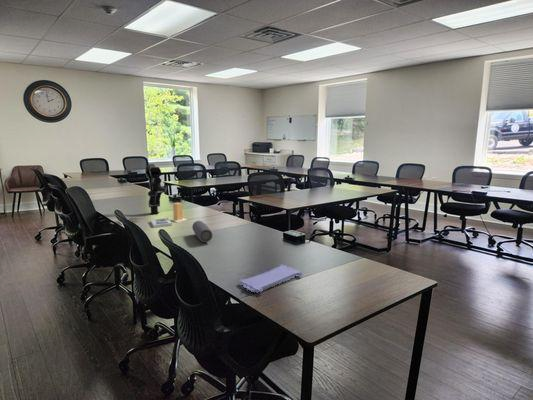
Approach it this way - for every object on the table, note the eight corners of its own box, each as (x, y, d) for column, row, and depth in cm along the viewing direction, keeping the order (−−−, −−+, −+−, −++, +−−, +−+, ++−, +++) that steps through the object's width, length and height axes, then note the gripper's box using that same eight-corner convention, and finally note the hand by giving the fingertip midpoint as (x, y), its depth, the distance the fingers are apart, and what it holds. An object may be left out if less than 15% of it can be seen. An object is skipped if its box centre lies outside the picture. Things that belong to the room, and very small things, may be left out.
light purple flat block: (235, 286, 151) (257, 298, 140) (235, 277, 150) (257, 288, 140) (281, 268, 171) (303, 277, 161) (281, 260, 170) (303, 269, 160)
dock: (150, 221, 258) (150, 218, 257) (167, 220, 263) (167, 217, 263) (153, 227, 242) (153, 224, 241) (172, 225, 247) (171, 222, 247)
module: (173, 219, 262) (173, 203, 260) (179, 218, 266) (178, 202, 264) (177, 220, 259) (176, 204, 257) (182, 219, 263) (182, 203, 261)
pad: (169, 220, 262) (169, 219, 262) (179, 217, 270) (179, 217, 270) (176, 222, 256) (176, 221, 256) (187, 220, 264) (187, 219, 263)
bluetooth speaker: (191, 234, 226) (191, 220, 224) (205, 233, 229) (204, 219, 227) (198, 245, 205) (198, 229, 203) (213, 243, 209) (213, 227, 207)
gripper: (161, 184, 255) (162, 204, 258) (169, 181, 273) (170, 200, 276) (147, 184, 255) (148, 204, 258) (156, 181, 273) (157, 199, 276)
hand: (156, 202), depth 267 cm, fingers open, 9 cm apart
